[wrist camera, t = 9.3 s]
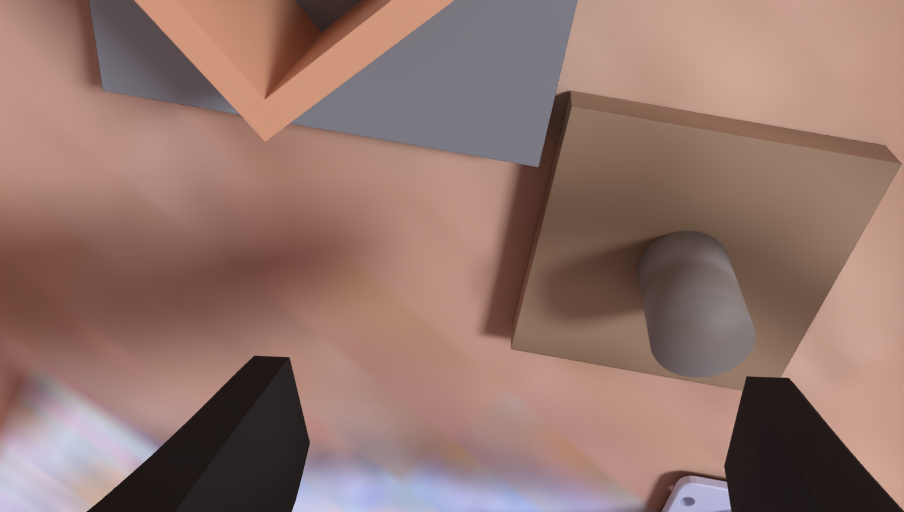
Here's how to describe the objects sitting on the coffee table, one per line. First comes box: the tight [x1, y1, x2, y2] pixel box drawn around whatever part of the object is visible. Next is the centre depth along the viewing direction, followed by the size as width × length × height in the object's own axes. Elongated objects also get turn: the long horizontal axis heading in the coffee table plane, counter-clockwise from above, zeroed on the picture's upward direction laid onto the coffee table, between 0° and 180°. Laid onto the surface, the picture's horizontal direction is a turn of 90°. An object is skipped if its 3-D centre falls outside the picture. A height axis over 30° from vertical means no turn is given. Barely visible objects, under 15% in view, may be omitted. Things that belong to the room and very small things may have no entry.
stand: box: [511, 91, 902, 391], centre depth 19 cm, size 8×8×4 cm
